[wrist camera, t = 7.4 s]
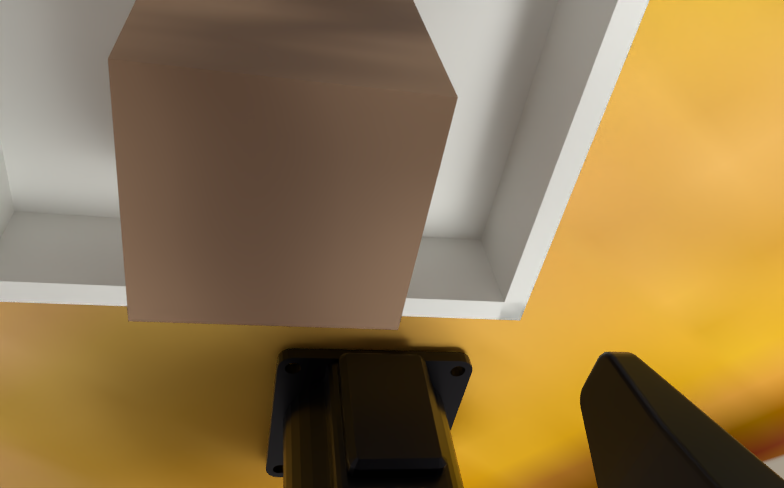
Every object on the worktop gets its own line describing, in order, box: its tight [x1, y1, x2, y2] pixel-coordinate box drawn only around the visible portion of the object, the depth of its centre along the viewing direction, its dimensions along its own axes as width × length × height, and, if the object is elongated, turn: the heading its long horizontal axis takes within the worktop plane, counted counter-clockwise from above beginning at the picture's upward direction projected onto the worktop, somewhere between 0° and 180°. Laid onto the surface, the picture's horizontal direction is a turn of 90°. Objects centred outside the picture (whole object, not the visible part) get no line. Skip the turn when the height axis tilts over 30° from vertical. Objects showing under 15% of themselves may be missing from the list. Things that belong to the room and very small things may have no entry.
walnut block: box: [108, 0, 458, 330], centre depth 13 cm, size 5×5×5 cm
